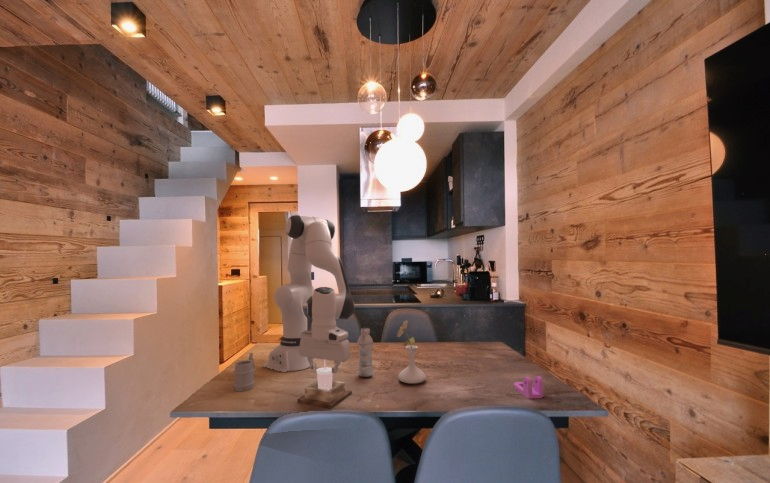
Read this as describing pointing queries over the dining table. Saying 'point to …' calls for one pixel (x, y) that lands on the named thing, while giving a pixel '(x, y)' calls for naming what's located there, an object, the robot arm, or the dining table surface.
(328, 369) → the beverage cup
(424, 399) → the dining table surface
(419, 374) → the flower in vase
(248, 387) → the mug
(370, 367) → the plastic bottle
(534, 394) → the bracket
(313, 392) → the socket stand
